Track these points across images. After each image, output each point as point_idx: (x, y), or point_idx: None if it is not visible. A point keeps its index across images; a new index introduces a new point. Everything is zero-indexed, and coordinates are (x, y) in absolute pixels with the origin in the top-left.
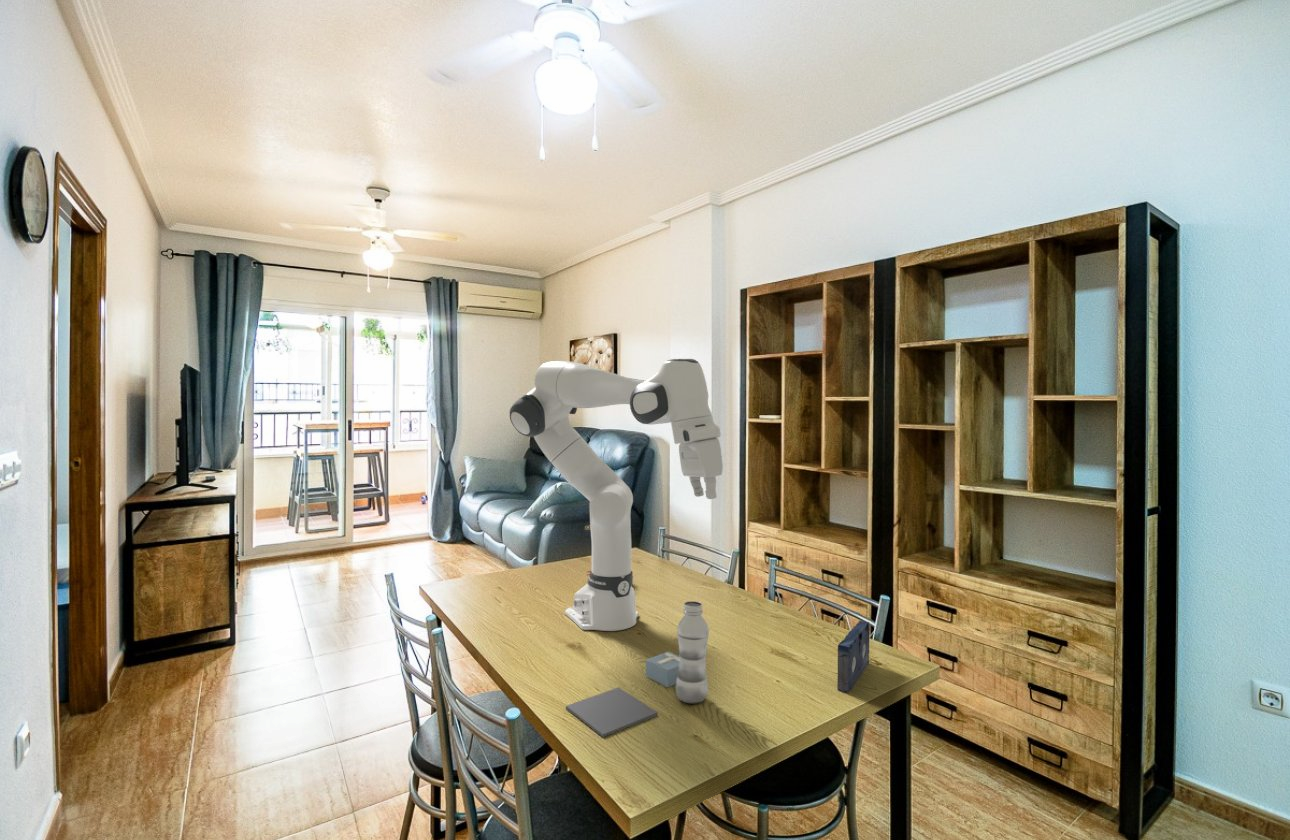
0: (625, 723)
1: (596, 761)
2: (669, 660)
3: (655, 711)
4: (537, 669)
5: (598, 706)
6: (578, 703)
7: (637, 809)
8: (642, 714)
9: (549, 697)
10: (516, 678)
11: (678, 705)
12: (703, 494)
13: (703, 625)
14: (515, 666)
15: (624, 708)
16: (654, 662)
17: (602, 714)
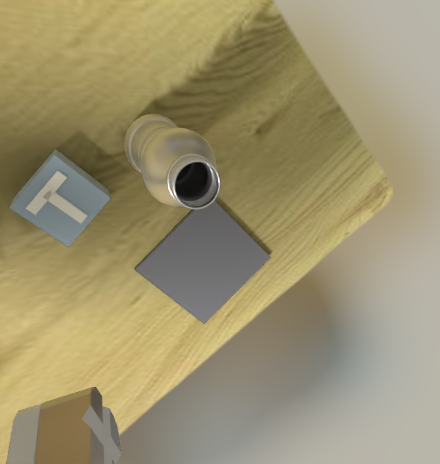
0: (243, 235)
1: (315, 249)
2: (65, 200)
3: None
4: None
5: (201, 282)
6: (196, 310)
7: (389, 189)
8: (217, 216)
9: (173, 353)
10: (122, 417)
11: None
12: (89, 391)
13: (203, 145)
14: None
15: (202, 245)
16: (78, 228)
17: (222, 271)
